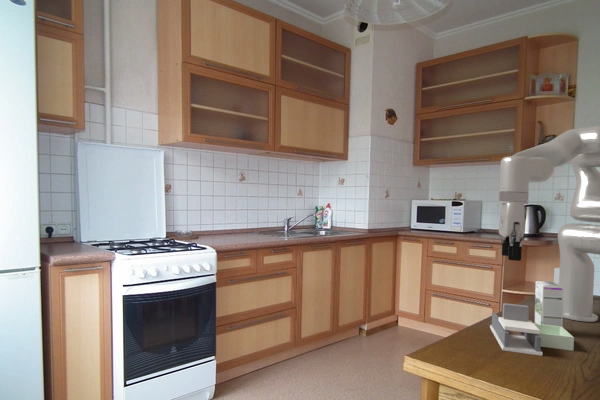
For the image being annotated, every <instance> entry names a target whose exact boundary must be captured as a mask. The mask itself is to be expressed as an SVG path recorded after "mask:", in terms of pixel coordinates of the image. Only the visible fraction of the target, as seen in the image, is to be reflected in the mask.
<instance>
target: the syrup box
mask: <svg viewBox="0 0 600 400" xmlns="http://www.w3.org/2000/svg"><path fill="white" fill-rule="evenodd" d="M563 291H564V287H563V286H561V285H559V284H557V283H555V282H554V281H546V280H543V281H542V280H541V281H540V280H536V281H535V291H534V292H535V293H534V322H533V323H536V324H544V325H553V326H561V327H563V328H564V326H563V323H564V322H563V321H564V318H563Z"/></svg>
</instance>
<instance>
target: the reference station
mask: <svg viewBox="0 0 600 400" xmlns="http://www.w3.org/2000/svg"><path fill="white" fill-rule="evenodd" d="M499 317H500V316H498V314H497V313H496V312H492V314H491V324H490V325H489V328H490V330H491V332H492V334H493V337H495V339H496V341H497V342H498V345H499V347H500V348H501V350H502V351H505V352H512V353H518V354H519V353H520V354H526V355H533V356H543V351H542V350H541V336H540V335H539V334H534V333H526V332H518V331H509V330H504V328H503V327H502V325H501V324H500V322H499V321H498V318H499Z"/></svg>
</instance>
